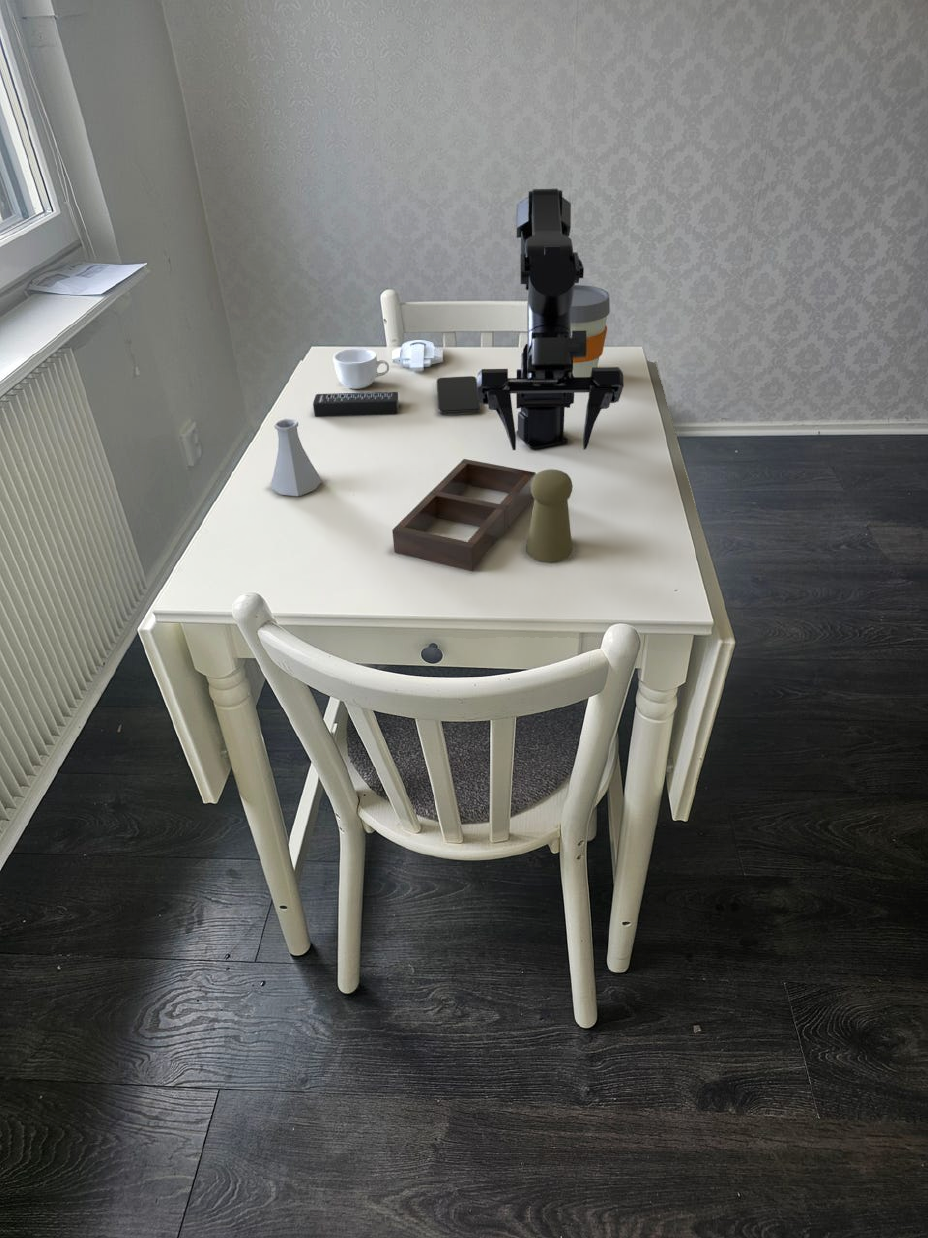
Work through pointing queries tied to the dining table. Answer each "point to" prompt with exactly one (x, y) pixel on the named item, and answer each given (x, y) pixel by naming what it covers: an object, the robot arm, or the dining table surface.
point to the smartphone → (458, 395)
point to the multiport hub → (356, 404)
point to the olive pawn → (550, 517)
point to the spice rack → (464, 514)
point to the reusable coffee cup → (589, 325)
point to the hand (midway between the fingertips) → (549, 448)
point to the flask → (292, 463)
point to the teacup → (357, 367)
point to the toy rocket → (417, 355)
